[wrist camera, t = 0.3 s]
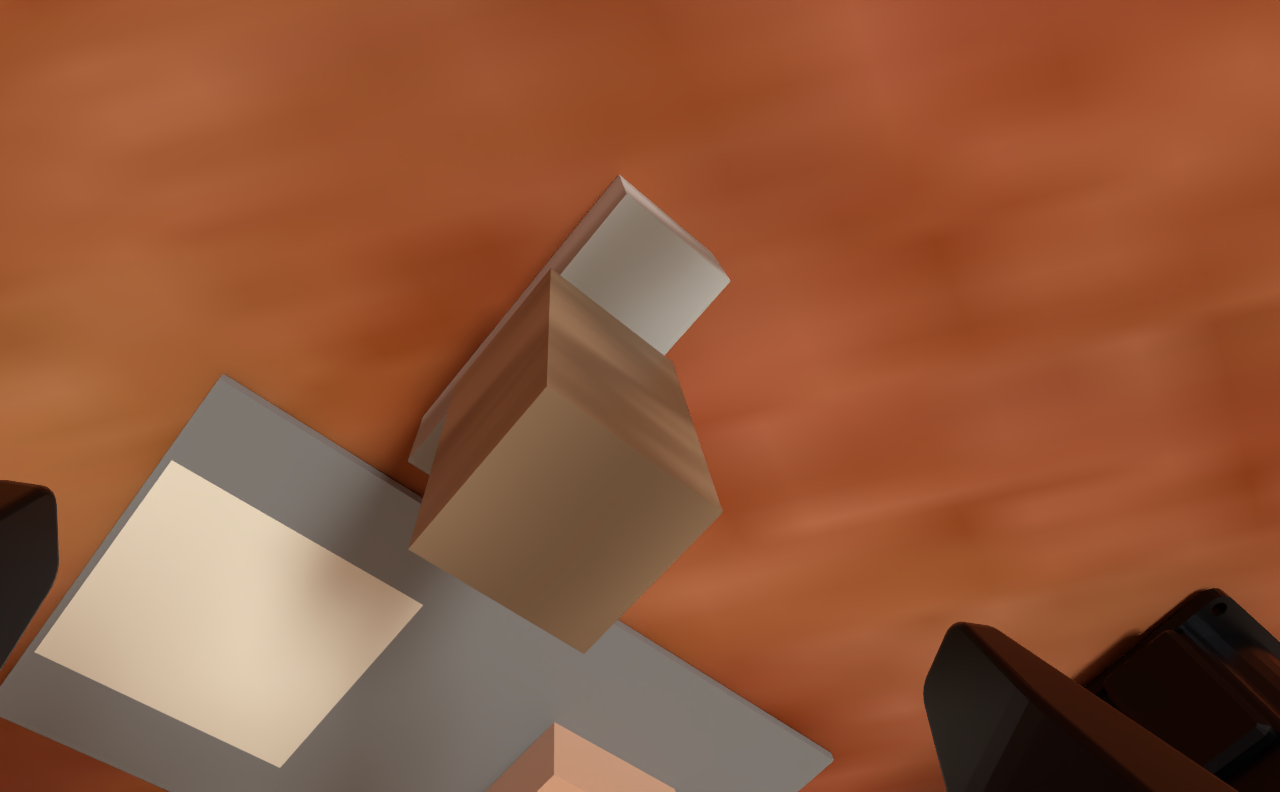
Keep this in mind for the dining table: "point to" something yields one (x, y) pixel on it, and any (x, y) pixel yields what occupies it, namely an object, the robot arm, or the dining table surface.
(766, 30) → the dining table surface
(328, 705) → the board
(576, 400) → the wood block grey top
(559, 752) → the tile
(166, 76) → the dining table surface
